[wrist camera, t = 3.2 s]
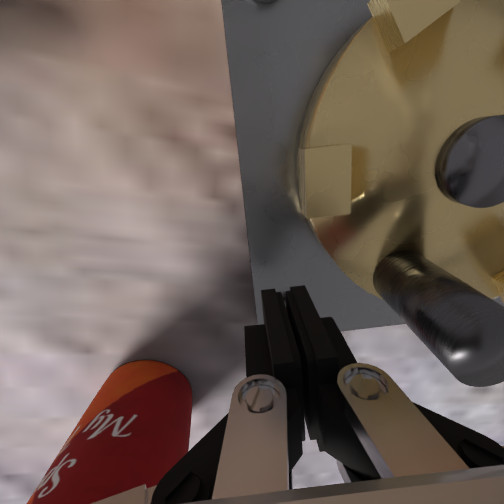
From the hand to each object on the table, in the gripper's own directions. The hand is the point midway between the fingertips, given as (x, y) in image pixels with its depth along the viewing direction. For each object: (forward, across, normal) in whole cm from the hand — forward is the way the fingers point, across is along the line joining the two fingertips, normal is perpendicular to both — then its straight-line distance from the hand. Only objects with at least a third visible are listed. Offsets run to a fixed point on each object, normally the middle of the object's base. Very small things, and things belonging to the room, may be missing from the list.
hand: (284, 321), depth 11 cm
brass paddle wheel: (+4, -8, -5) cm, 10 cm away
